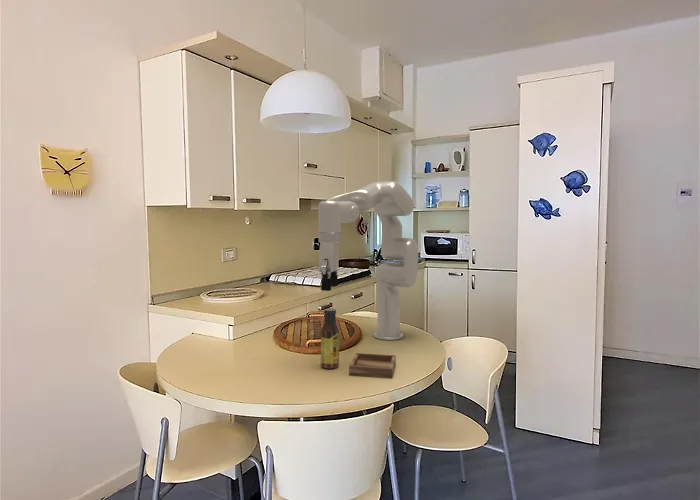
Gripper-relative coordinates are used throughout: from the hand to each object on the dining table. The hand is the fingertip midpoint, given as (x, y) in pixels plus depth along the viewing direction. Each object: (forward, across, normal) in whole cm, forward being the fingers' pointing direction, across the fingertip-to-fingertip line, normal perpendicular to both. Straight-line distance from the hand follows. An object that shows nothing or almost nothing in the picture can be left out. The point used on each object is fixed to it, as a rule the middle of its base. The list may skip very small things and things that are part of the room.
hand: (329, 288), depth 150 cm
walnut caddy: (+27, 0, +15) cm, 31 cm away
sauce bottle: (+28, 0, 0) cm, 28 cm away
